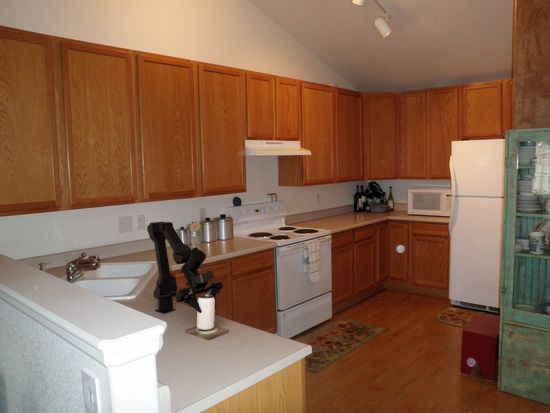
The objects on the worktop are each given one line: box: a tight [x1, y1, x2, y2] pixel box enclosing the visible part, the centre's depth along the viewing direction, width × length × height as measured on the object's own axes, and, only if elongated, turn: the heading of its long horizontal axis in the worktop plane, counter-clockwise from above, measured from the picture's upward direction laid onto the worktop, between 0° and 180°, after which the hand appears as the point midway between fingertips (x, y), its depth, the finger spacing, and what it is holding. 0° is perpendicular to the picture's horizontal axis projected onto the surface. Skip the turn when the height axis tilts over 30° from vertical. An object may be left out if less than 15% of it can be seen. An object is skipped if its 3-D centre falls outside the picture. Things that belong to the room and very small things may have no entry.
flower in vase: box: [189, 220, 202, 249], centre depth 316 cm, size 13×11×25 cm
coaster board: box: [185, 324, 230, 341], centre depth 168 cm, size 13×10×1 cm
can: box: [196, 293, 216, 330], centre depth 168 cm, size 6×6×12 cm
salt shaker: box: [195, 240, 202, 251], centre depth 301 cm, size 6×6×13 cm
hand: (208, 310), depth 167 cm, fingers closed on can, 6 cm apart
